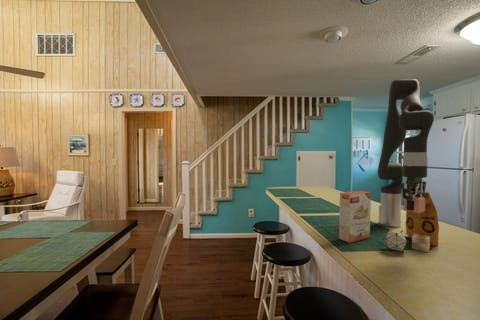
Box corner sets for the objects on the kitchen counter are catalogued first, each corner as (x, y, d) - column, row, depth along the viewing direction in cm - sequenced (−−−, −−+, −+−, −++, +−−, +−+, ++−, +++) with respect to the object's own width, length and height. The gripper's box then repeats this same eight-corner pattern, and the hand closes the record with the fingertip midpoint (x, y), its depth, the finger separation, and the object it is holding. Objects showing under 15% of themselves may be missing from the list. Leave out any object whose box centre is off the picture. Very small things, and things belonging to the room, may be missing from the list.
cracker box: (350, 243, 101) (350, 194, 100) (338, 239, 106) (338, 192, 105) (371, 238, 107) (371, 192, 106) (359, 234, 112) (359, 190, 112)
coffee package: (414, 244, 99) (415, 192, 99) (402, 235, 111) (403, 188, 111) (443, 247, 97) (444, 193, 96) (427, 237, 108) (428, 189, 108)
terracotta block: (403, 210, 91) (403, 197, 91) (409, 208, 93) (410, 195, 93) (418, 212, 87) (418, 199, 86) (424, 211, 89) (425, 197, 89)
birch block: (411, 248, 95) (412, 236, 95) (414, 245, 99) (414, 233, 99) (427, 252, 92) (427, 239, 92) (429, 248, 95) (429, 236, 95)
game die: (389, 258, 95) (373, 234, 99) (407, 250, 95) (391, 226, 100) (399, 256, 87) (382, 230, 92) (420, 247, 87) (401, 221, 92)
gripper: (412, 163, 96) (411, 205, 97) (394, 164, 89) (393, 209, 90) (435, 164, 90) (434, 208, 91) (417, 165, 83) (416, 214, 83)
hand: (413, 209), depth 90 cm, fingers closed on terracotta block, 5 cm apart
